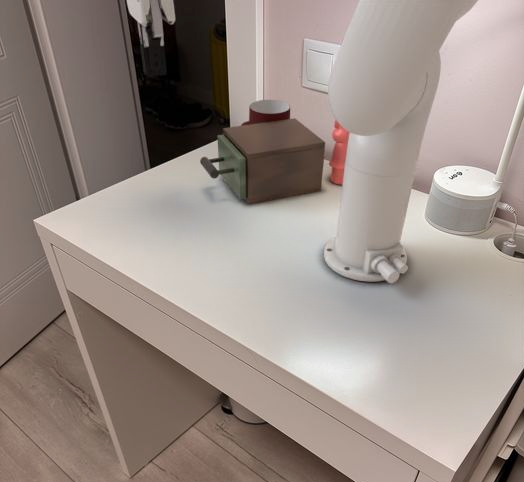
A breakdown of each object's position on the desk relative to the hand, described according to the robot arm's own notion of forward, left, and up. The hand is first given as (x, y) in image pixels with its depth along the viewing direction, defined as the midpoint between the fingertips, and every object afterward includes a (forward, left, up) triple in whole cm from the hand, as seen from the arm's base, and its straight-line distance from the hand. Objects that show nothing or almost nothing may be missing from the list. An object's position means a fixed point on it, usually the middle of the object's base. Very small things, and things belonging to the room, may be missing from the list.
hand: (155, 73), depth 82 cm
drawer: (0, -16, -20) cm, 26 cm away
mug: (+11, -23, -21) cm, 33 cm away
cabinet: (0, -20, -21) cm, 29 cm away
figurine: (-4, -33, -21) cm, 39 cm away
